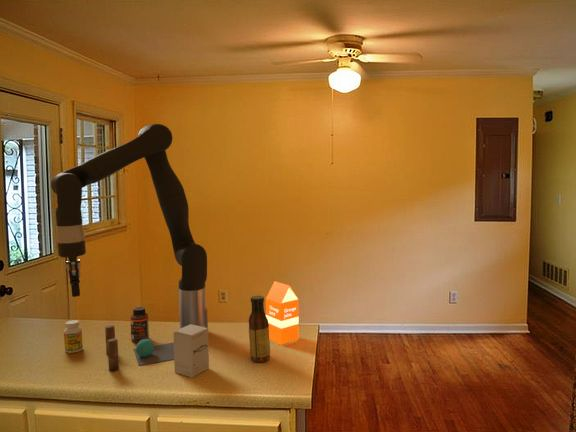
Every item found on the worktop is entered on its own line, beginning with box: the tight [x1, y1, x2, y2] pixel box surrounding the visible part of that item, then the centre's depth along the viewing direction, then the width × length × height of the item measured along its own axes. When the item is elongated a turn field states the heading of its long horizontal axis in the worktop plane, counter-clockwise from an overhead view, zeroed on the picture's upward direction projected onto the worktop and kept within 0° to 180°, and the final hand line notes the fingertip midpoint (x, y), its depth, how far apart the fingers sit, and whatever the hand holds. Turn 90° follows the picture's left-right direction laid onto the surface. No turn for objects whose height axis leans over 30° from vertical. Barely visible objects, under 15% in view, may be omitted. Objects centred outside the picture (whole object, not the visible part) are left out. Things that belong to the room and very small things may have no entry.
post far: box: [104, 324, 116, 356], centre depth 148 cm, size 3×3×9 cm
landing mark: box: [133, 341, 174, 367], centre depth 148 cm, size 14×14×1 cm
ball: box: [135, 339, 155, 357], centre depth 146 cm, size 6×6×6 cm
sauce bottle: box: [248, 295, 271, 363], centre depth 142 cm, size 6×6×20 cm
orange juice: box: [265, 280, 300, 346], centre depth 159 cm, size 8×9×20 cm
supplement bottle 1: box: [63, 319, 84, 354], centre depth 151 cm, size 5×5×10 cm
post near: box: [107, 338, 120, 373], centre depth 136 cm, size 3×3×9 cm
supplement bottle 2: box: [130, 306, 150, 343], centre depth 160 cm, size 6×6×11 cm
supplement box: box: [172, 324, 210, 378], centre depth 135 cm, size 7×7×13 cm
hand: (76, 295), depth 140 cm, fingers closed
